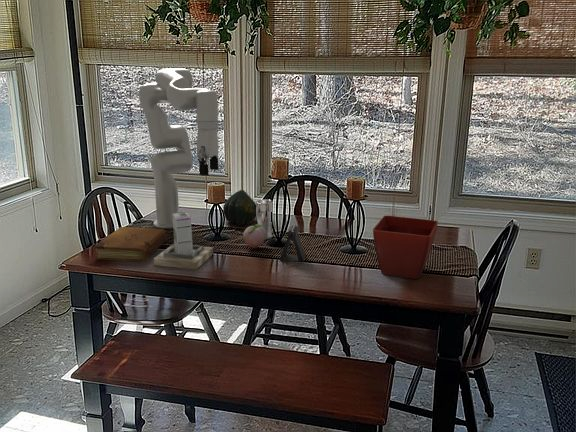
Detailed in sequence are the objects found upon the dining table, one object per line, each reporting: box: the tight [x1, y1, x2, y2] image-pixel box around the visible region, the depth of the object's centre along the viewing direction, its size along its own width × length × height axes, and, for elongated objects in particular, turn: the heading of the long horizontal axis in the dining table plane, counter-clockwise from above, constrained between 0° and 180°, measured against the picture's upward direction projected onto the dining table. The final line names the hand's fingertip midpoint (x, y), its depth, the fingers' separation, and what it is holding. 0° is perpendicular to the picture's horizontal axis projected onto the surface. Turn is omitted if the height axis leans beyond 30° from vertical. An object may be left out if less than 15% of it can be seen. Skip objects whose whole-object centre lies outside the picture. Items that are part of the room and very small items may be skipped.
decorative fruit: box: [242, 223, 266, 249], centre depth 222 cm, size 9×8×10 cm
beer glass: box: [255, 198, 274, 240], centre depth 235 cm, size 7×7×15 cm
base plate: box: [153, 243, 214, 270], centre depth 212 cm, size 16×16×4 cm
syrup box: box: [172, 212, 194, 255], centre depth 209 cm, size 6×6×14 cm
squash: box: [222, 189, 256, 227], centre depth 254 cm, size 14×15×15 cm
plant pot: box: [372, 215, 439, 280], centre depth 201 cm, size 19×19×17 cm
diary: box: [94, 226, 167, 263], centre depth 221 cm, size 23×19×6 cm
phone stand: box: [278, 225, 307, 263], centre depth 212 cm, size 9×6×12 cm, turn 80°
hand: (209, 172), depth 213 cm, fingers open, 9 cm apart
